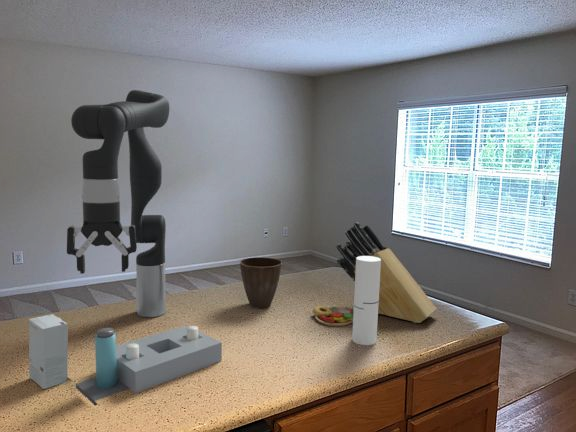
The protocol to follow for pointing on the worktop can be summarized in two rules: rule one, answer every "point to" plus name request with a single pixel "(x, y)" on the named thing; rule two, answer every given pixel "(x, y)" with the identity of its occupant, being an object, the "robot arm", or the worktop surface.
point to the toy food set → (333, 316)
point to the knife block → (386, 276)
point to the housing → (165, 358)
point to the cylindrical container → (366, 300)
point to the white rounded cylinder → (132, 351)
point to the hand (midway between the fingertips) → (103, 271)
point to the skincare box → (48, 351)
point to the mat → (94, 393)
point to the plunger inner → (192, 333)
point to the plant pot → (260, 280)
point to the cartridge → (105, 358)
